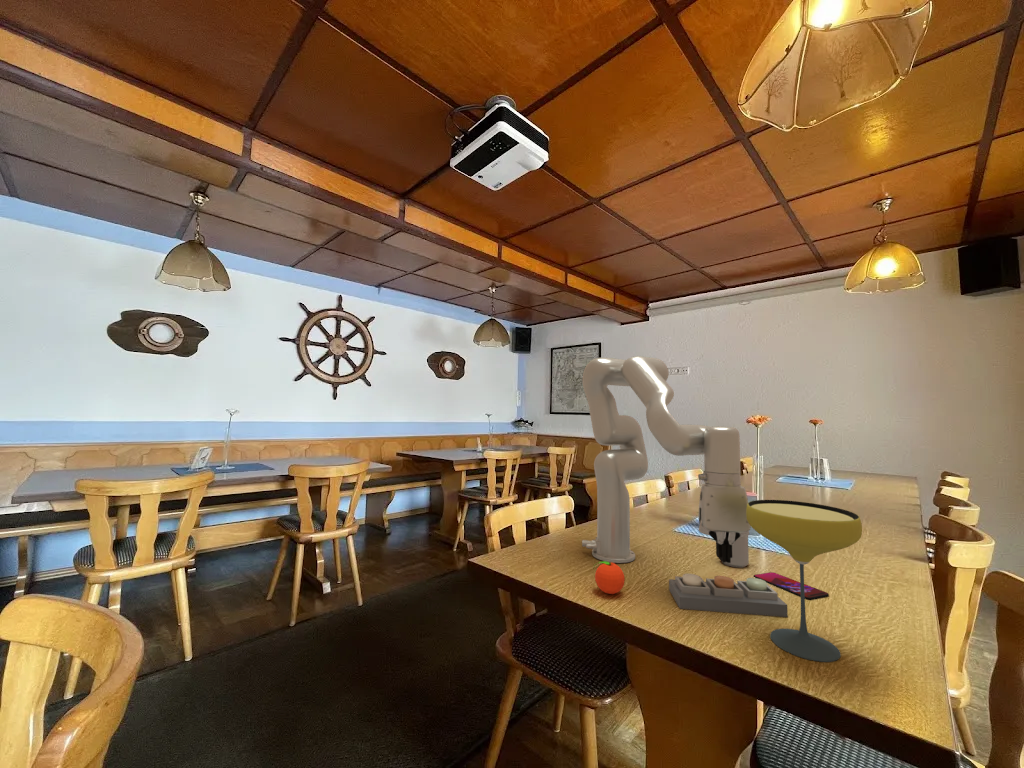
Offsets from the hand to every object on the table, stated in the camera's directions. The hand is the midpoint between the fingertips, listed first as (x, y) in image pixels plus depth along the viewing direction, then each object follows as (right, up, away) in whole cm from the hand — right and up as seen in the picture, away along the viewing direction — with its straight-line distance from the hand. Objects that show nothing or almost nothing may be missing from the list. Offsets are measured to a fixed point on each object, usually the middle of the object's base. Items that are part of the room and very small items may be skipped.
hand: (724, 560), depth 96 cm
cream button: (-7, -6, +1) cm, 9 cm away
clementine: (-26, -10, +4) cm, 28 cm away
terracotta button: (0, -6, 0) cm, 6 cm away
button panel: (0, -9, 0) cm, 9 cm away
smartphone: (+21, -11, +10) cm, 26 cm away
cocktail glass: (+6, -9, -18) cm, 21 cm away
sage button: (+7, -6, -1) cm, 9 cm away
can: (+15, -12, +25) cm, 31 cm away
